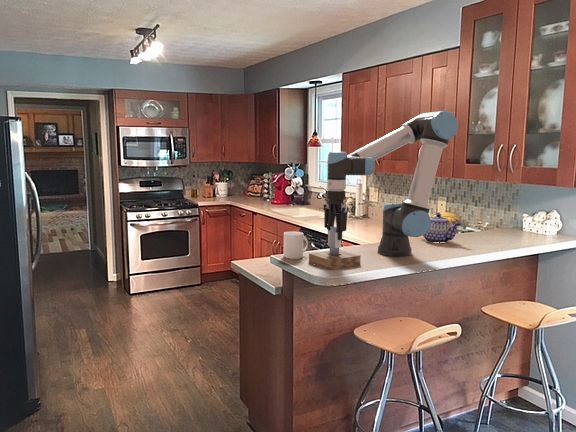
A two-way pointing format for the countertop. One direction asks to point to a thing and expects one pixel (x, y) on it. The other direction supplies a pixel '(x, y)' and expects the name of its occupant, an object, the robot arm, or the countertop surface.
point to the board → (334, 259)
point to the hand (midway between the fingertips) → (334, 246)
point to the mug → (294, 245)
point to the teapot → (440, 229)
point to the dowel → (333, 242)
